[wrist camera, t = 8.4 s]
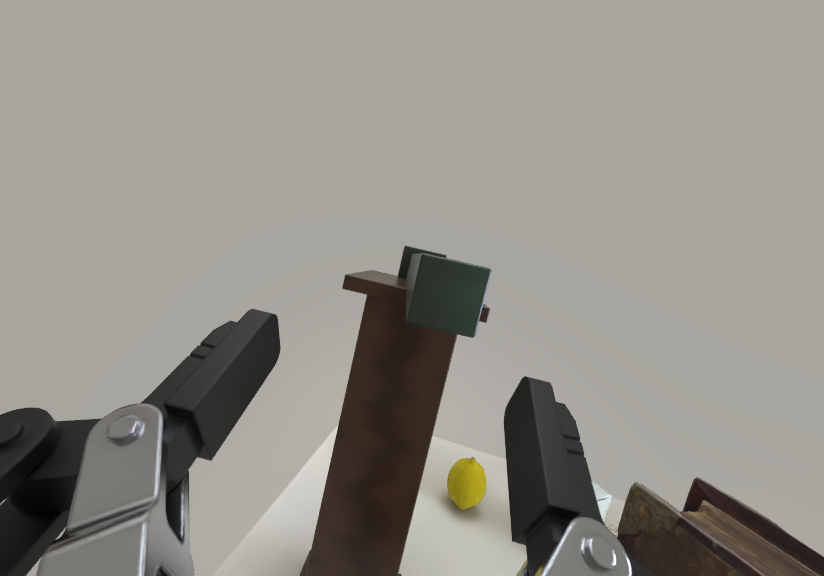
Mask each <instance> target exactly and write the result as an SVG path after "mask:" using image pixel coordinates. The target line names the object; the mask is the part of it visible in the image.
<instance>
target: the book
mask: <svg viewBox="0 0 824 576" xmlns="http://www.w3.org/2000/svg"><path fill="white" fill-rule="evenodd" d="M617 531H618V537H617V539H618V540H619V541H620V543H621V544H622V546H623V548H624V550H625V552H626V554H627V555H629V556H630V557H631V558H632V559H634V560H635V561H636V562H638V563H640V564H641V565H643V566H644V567H646V568H648V569H649V570H651V571H652V572H654V573H656V574H657V575H659V576H824V557H823V556H821V555H820V554H818V553H817V552H815V551H814V550H812V549H811V548H809V547H808V546H806V545H805V544H803V543H802V542H800V541H798V540H797V539H795V538H794V537H792V536H791V535H789V534H788V533H787V532H785V531H784V530H782V528H780V527H779V526H778V525H777V524H775V523H774V522H772V521H771V520H769V519H768V518H766V517H765V516H763V515H762V514H760V513H758V512H757V511H755V510H753V509H752V508H750V507H748V506H747V505H745V504H743V503H742V502H740V501H738V500H737V499H735V498H733V497H732V496H730V495H728V494H726V493H725V492H723V491H722V490H720V489H718V488H717V487H715V486H713V485H712V484H710V483H708V482H706V481H704V480H702V479H701V478H695V479H694V481H693V483H692V486H691V488H690V492H689V494H688V497H687V500H686V503H685V506H684V509H683V512H679V511H678V510H676V509H675V508H674V507H673V506H672V505H670V504H669V503H668V502H666V501H665V500H663V499H662V498H660V497H659V496H658V495H656V494H655V493H654V492H652V491H651V490H650V489H648V488H647V487H645V486H644V485H642V484H640V483H638V482H636V483H634V484H633V486H631V488H630V491H629V494H628V496H627V499H626V503H625V506H624V509H623V513H622V516H621V520H620V523H619V526H618V530H617Z"/></svg>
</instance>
